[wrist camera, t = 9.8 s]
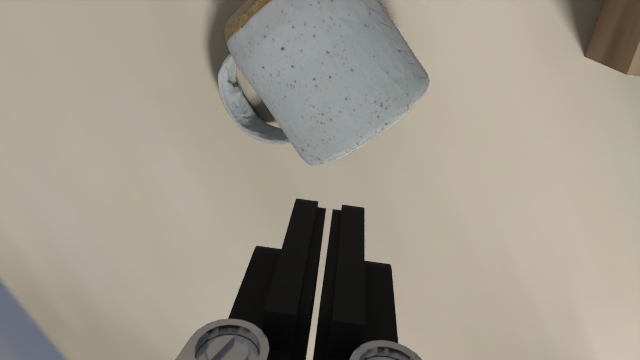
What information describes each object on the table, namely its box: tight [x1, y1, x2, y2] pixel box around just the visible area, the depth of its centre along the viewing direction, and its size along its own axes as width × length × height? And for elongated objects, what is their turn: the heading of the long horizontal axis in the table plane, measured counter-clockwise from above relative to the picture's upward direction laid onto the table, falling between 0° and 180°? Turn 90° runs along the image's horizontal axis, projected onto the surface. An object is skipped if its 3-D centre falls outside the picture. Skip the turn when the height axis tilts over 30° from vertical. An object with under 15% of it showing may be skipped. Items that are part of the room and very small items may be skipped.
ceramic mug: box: [218, 0, 429, 166], centre depth 23 cm, size 11×8×8 cm
